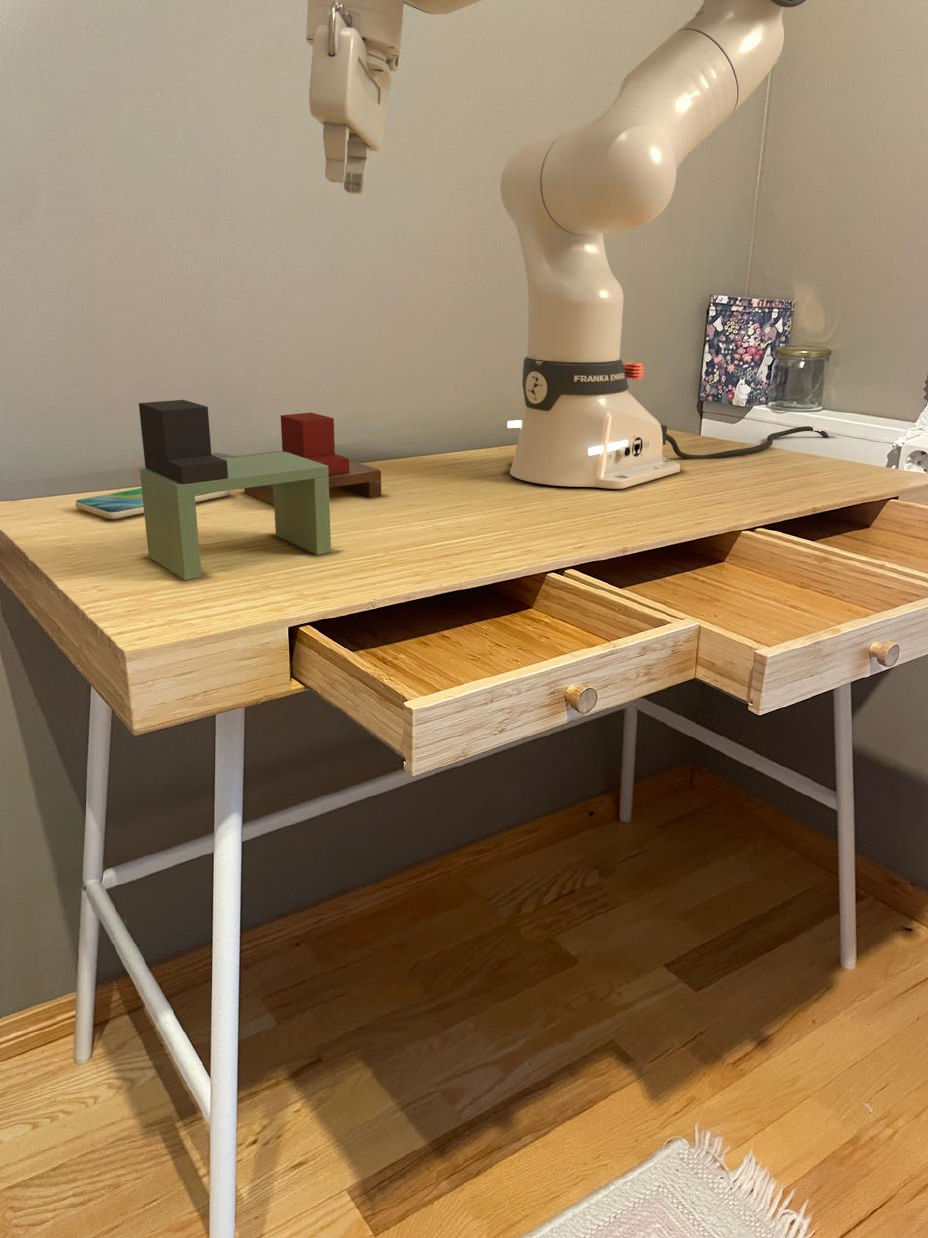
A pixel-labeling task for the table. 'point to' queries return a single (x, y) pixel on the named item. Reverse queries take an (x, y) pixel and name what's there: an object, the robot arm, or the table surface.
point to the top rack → (293, 487)
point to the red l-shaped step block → (312, 440)
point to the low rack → (336, 483)
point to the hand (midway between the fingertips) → (344, 187)
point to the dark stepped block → (179, 442)
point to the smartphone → (126, 503)
